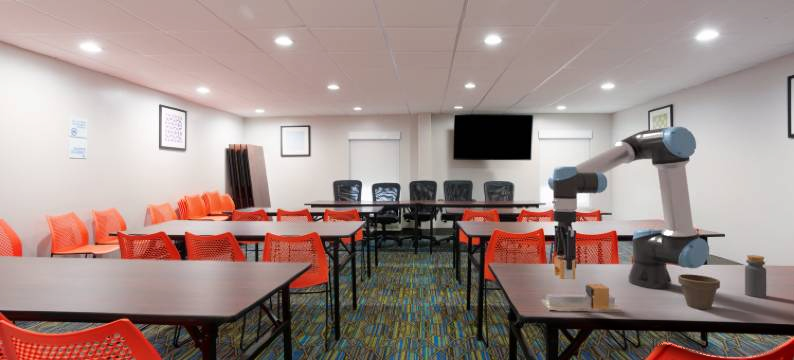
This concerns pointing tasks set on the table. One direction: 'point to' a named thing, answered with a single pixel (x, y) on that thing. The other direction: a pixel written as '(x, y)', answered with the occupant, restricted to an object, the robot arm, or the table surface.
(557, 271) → the orange cube
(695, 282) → the flower pot
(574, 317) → the table surface
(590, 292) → the rail
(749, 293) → the bottle
